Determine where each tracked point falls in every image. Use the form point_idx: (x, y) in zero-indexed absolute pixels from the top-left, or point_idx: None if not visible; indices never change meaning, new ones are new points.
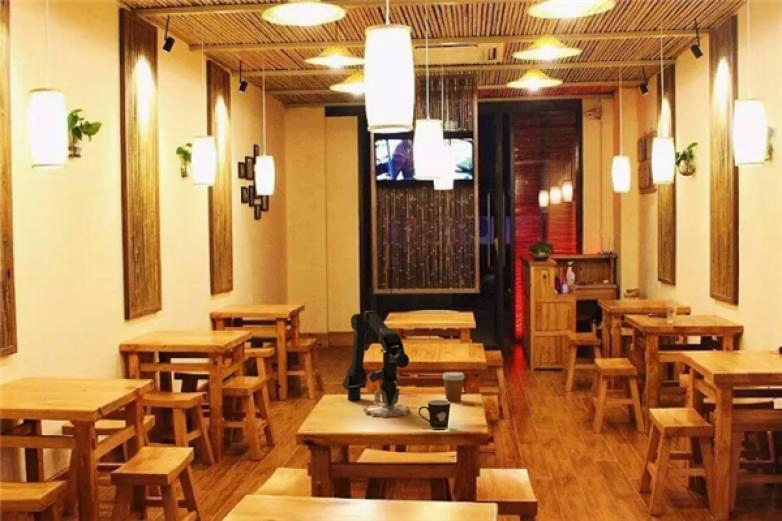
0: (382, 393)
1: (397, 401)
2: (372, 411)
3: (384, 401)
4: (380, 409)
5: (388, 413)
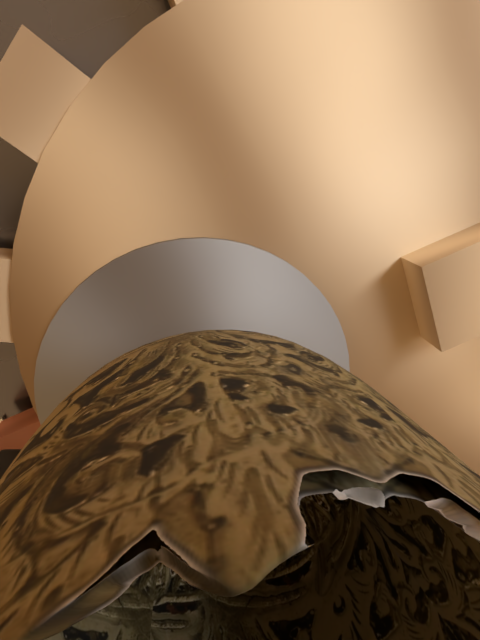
0: (30, 503)
1: (177, 604)
2: (118, 68)
3: (76, 390)
4: (278, 229)
5: (22, 362)
